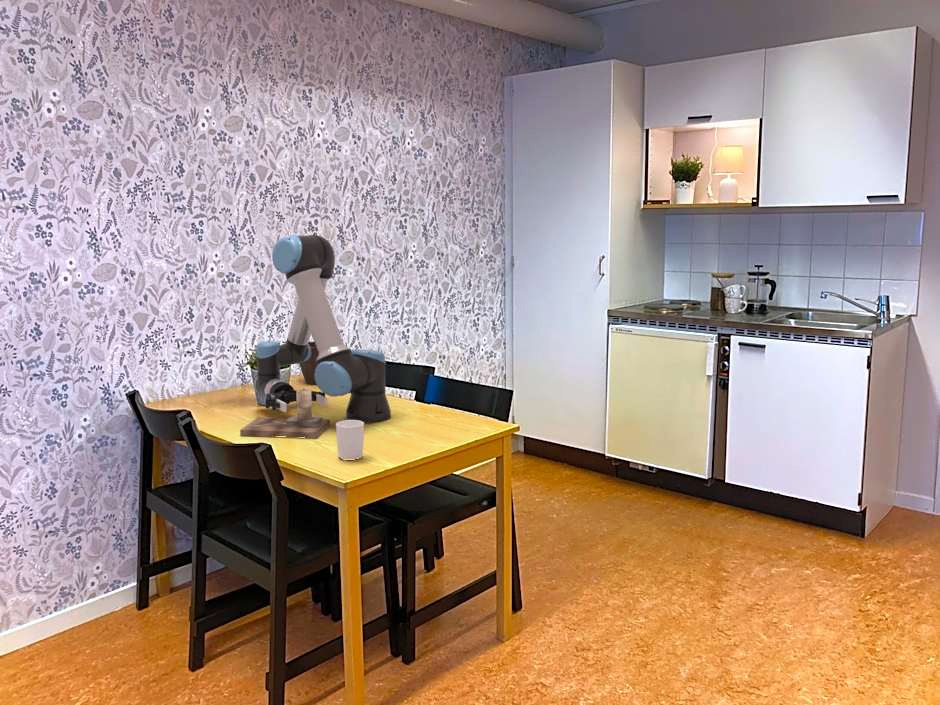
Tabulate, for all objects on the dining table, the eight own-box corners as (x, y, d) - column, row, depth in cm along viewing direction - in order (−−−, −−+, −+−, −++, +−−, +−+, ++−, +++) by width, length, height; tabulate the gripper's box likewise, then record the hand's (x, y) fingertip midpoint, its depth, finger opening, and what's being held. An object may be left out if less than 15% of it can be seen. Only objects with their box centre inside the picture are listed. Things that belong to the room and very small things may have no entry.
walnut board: (330, 425, 262) (330, 419, 262) (316, 438, 246) (316, 432, 246) (258, 422, 264) (258, 416, 264) (240, 436, 249) (240, 429, 248)
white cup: (368, 454, 231) (368, 421, 229) (357, 462, 223) (357, 428, 222) (343, 452, 233) (343, 418, 231) (331, 460, 226) (331, 425, 224)
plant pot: (289, 385, 321) (288, 345, 319) (308, 378, 335) (307, 340, 333) (322, 388, 317) (321, 348, 314) (340, 380, 331) (339, 342, 328)
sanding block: (322, 423, 257) (322, 389, 255) (317, 428, 251) (316, 393, 249) (292, 422, 258) (291, 388, 256) (286, 427, 252) (285, 392, 250)
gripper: (314, 398, 276) (342, 411, 259) (243, 408, 262) (268, 422, 245) (314, 377, 275) (341, 388, 258) (243, 385, 261) (267, 398, 244)
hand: (306, 405), depth 252 cm, fingers open, 13 cm apart
